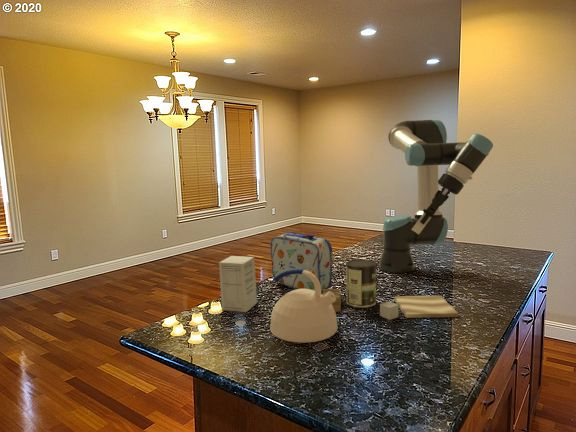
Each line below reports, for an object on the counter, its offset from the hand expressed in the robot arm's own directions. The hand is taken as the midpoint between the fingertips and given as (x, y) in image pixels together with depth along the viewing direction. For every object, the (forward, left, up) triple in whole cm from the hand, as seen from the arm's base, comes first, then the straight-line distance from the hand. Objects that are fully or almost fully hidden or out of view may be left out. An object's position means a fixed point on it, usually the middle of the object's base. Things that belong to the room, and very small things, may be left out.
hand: (414, 232), depth 134 cm
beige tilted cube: (+10, -10, -25) cm, 29 cm away
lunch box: (-19, -37, -25) cm, 49 cm away
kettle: (+18, -37, -25) cm, 48 cm away
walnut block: (+4, -28, -25) cm, 38 cm away
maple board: (+4, +3, -25) cm, 25 cm away
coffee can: (-2, -17, -25) cm, 31 cm away
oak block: (-3, -27, -25) cm, 37 cm away
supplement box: (0, -59, -25) cm, 65 cm away
